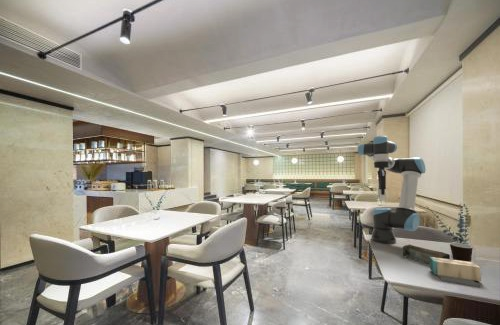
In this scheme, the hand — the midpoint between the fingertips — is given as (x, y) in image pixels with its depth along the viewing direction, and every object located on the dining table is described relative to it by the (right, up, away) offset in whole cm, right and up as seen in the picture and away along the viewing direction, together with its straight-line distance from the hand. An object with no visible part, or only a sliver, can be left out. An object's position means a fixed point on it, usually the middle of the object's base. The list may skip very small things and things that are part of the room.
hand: (382, 200), depth 126 cm
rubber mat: (+15, -31, -28) cm, 44 cm away
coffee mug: (+34, -32, -15) cm, 49 cm away
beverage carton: (+17, -32, -11) cm, 38 cm away
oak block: (+8, -27, -25) cm, 38 cm away
